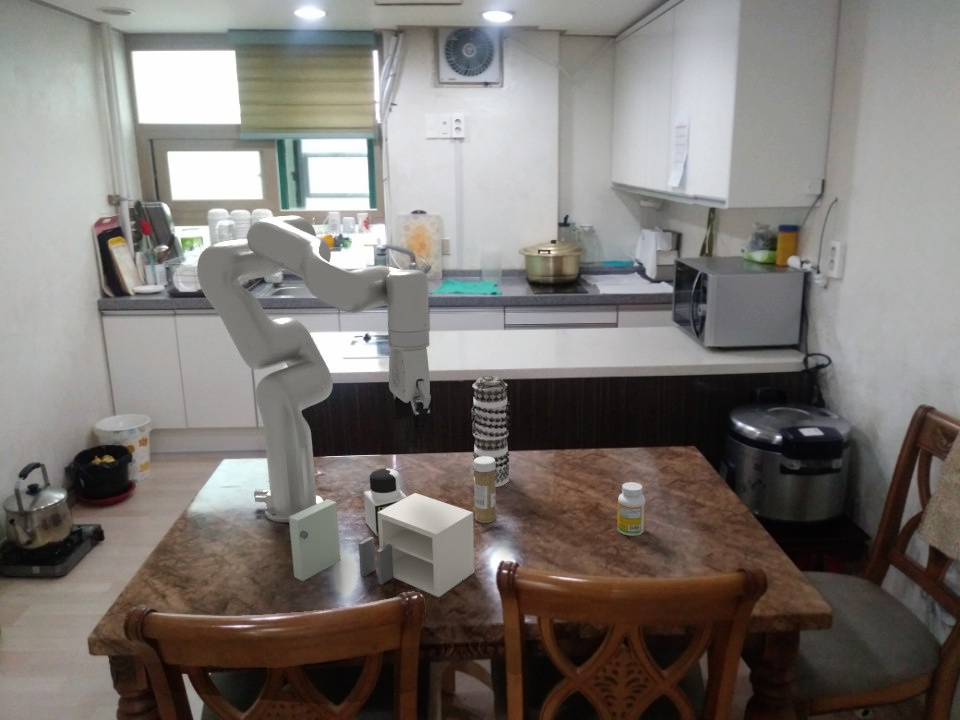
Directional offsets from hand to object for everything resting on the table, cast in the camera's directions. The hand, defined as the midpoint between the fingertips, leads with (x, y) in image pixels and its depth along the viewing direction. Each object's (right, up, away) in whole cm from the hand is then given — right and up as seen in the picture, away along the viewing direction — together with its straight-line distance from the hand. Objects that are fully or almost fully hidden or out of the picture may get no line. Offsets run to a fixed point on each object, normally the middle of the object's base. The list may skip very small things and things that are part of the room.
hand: (411, 425), depth 138 cm
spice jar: (+14, -21, +15) cm, 30 cm away
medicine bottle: (-6, -22, +13) cm, 27 cm away
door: (-17, -26, -3) cm, 32 cm away
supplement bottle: (+44, -22, +10) cm, 50 cm away
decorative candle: (+16, -16, +35) cm, 42 cm away
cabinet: (+2, -27, -5) cm, 27 cm away
